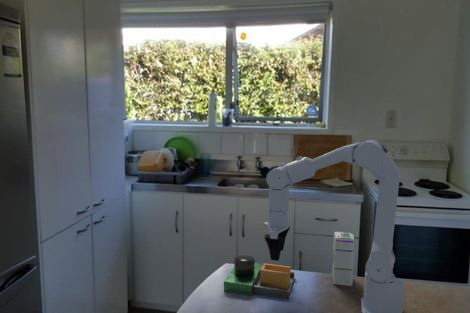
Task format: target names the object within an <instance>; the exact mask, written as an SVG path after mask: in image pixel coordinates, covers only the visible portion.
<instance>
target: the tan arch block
mask: <svg viewBox="0 0 470 313" xmlns="http://www.w3.org/2000/svg"><path fill="white" fill-rule="evenodd" d="M262 264H263V266H262V268H261V270H260V285H265V286H272V287H278V288H285V289H288V286H289V283H290V272H291V266H289V265H287V266H286V265H280V264H275V263H274V264H272V263H266V262H264V263H262Z"/></svg>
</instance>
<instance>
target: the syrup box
mask: <svg viewBox="0 0 470 313" xmlns="http://www.w3.org/2000/svg"><path fill="white" fill-rule="evenodd" d="M332 248H333V251H332V254H333V255H332V276H331V277H332V283H333V285H339V286H346V287H347V286H348V287H353V284H354V283H353V279H354V267H355V266H354V263H355V237H354V233H352V232H347V231H334V232H333V247H332Z"/></svg>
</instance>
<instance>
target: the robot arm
mask: <svg viewBox="0 0 470 313" xmlns="http://www.w3.org/2000/svg"><path fill="white" fill-rule="evenodd" d="M342 162H345V163H348V164H349V163H350V164H354V163H356V164H357V165H358V166H360V167H361V168H363V169H365V170H367V171H368V172H370V173H371V174H372V175H373V176H374V177H375V178H376V179H377V181H378V188H377V190H378V191H377V200H376V209H375V210H376V212H375V219H374V230H373V238H372V239H373V240H372V245H371V251H370V253H369V258H368V260H367V261H366V263H365V269H364V270H365V272H364V284H363V285H364V286H363V297H361V298H360V306H361V313H403V308H404V296H405V287H404V280H403V279H402V278H399V277H398V278H397V277H396V276H395V274H394V273H393V272H394V270H393V269H394V264H395V262H396V257H395V254H394V250H393V245H394V243H393V242H394V241H393V240H394V232H395V224H396V215H397V214H396V212H397V205H398V204H397V203H398V198H399V196H398V195H399V188H400V178H401V177H400V176H401V171H400V169H399V168H398V166H397V164H396V163H395V161H394V159H393V157H392V155H391V153H390V151H389V149H388V148H387V147H386V146H385V145H384V144H383V143H381V142H380V141H379V140H376V139H367V140H365V141H363V142H362V141H360V142H356V143H351V144H347V145H345V146H341V147H339V148H336V149H334V150H331V151H330V152H327V153H325V154H323V155H319V156H317V157H315V158H313V159H312V158H310V157H307V156H304V157H303V156H301V155H300V156H298V157H296V160H294V161H291V162H289V163H286V162H284V163H281V165H280V166H278V167H275V168H273V169H271V170H269V171H268V173H267V174H266V178H265V180H266V183H267V185H268V214H267V216H268V217H267V219H268V220H267V221H265V222H264V223H263V226H264V227H267V228H268V230H269V234H268V233H267V234H266V233H265V235H264V240H265V242H266V244H267V248H268V251H269V257H270V260H271V261H277V262H278V261H280V256H281V252H283V250H284V249H285V248H284V247H285V244H286V238H287V235H288V233H289V230H290V228H291V226H290V225H289V212H290V211H289V208H290V207H289V206H290V185H291V184H292V185H294V184H296V183H300V182H301V181H305V180H307V179H309V178H313V177H314V176H315V174H316V172H317V171H318V170H320V169H323V168H324V169H325V168H327V167H330V166H332V165H335V164H338V163H339V164H340V163H342Z"/></svg>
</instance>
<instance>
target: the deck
mask: <svg viewBox="0 0 470 313" xmlns="http://www.w3.org/2000/svg"><path fill="white" fill-rule="evenodd" d="M233 262H234V266H233V267H232V268H231V271H229V274H228V275H227V277H226V278H225V279H224V281H223V292H226V293H231V294H232V293H233V294H237V295H242V296H243V295H245V296H250V297H251V296H252V295H253V294H255V295H256V294H257V295H261V296H269V297H275V298H283V299H287V300H289V298H290V296H291V295H290V294H291V291H292V289H293V288H292V287H293V284H294V281H295V271H290V283H289V286H288V289H285V288H278V287H272V286H265V285H260V270H261V268H262V266H263V264H264V263H258V262H257V263H256V258H254V257H253V256H251V255H238V256H236V257H234V261H233Z"/></svg>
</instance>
